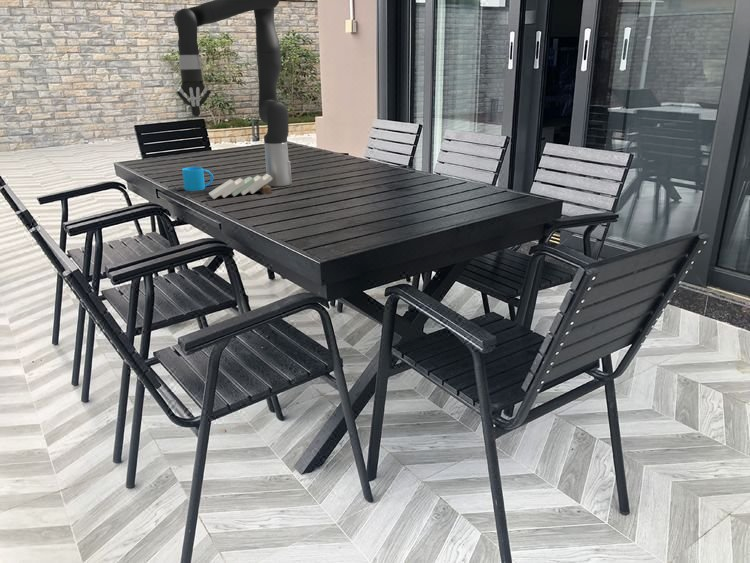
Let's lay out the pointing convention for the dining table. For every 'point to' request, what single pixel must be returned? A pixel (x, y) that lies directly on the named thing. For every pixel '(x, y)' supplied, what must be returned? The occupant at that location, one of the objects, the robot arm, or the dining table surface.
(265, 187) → the end stop
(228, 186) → the domino
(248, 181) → the domino
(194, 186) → the mug
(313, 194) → the dining table surface
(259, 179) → the domino
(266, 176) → the domino end
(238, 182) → the domino
